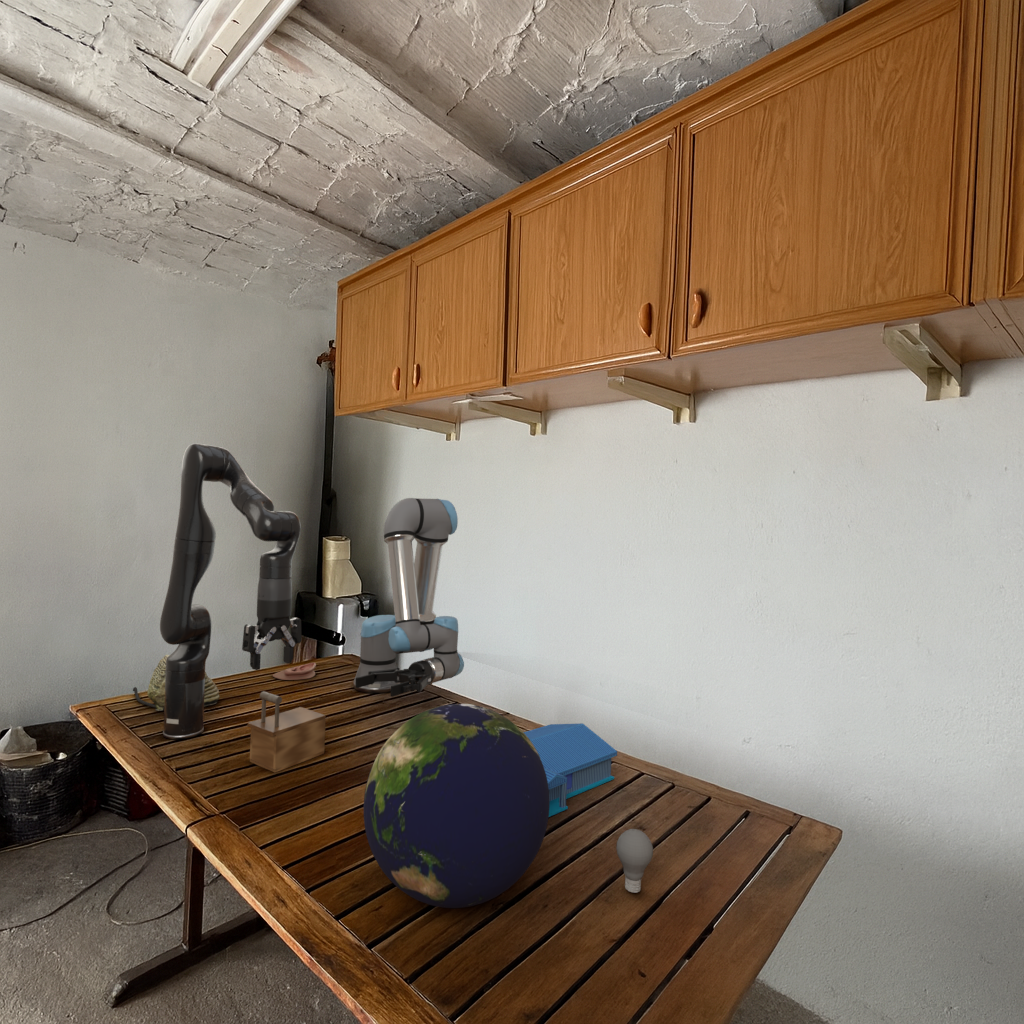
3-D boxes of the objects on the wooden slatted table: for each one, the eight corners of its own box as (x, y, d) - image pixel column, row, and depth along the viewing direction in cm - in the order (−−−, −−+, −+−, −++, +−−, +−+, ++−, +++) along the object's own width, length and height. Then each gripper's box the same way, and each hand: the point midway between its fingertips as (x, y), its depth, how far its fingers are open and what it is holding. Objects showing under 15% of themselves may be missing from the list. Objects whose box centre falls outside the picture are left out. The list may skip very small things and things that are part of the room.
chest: (274, 772, 144) (276, 735, 144) (249, 761, 149) (250, 725, 149) (324, 753, 156) (325, 718, 156) (299, 743, 161) (300, 710, 161)
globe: (319, 919, 95) (326, 721, 95) (420, 827, 123) (427, 673, 122) (502, 984, 84) (511, 760, 83) (568, 867, 112) (576, 698, 111)
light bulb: (610, 879, 108) (613, 822, 108) (644, 879, 109) (647, 822, 109) (619, 902, 102) (622, 840, 102) (655, 901, 103) (658, 840, 103)
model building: (497, 839, 120) (500, 786, 120) (424, 791, 138) (425, 745, 138) (625, 783, 146) (627, 740, 146) (549, 749, 164) (551, 711, 164)
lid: (272, 736, 143) (274, 701, 143) (247, 726, 149) (248, 692, 148) (325, 718, 156) (326, 686, 156) (300, 710, 161) (301, 678, 161)
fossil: (144, 707, 182) (145, 655, 182) (212, 696, 194) (213, 647, 194) (151, 716, 175) (153, 662, 175) (221, 703, 188) (223, 653, 188)
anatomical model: (267, 666, 215) (286, 658, 227) (267, 678, 215) (286, 669, 227) (303, 670, 213) (320, 662, 224) (303, 682, 213) (320, 673, 224)
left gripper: (257, 602, 139) (254, 675, 140) (310, 595, 151) (307, 662, 152) (237, 597, 144) (234, 668, 144) (290, 591, 156) (287, 657, 156)
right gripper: (456, 691, 185) (406, 709, 168) (394, 678, 199) (342, 692, 181) (457, 666, 185) (407, 680, 168) (395, 654, 199) (343, 666, 181)
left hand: (272, 665), depth 148 cm, fingers open, 8 cm apart
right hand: (373, 687), depth 174 cm, fingers open, 13 cm apart
